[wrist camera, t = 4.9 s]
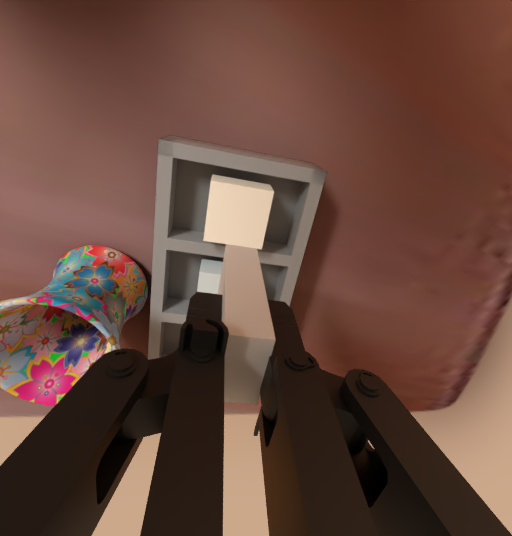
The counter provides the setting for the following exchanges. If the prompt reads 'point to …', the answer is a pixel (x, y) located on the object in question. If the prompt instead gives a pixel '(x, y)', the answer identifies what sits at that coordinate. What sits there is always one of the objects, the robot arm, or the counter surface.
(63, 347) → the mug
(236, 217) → the key
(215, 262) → the key middle
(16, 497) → the robot arm
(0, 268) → the counter surface
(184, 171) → the grey compartment tray
